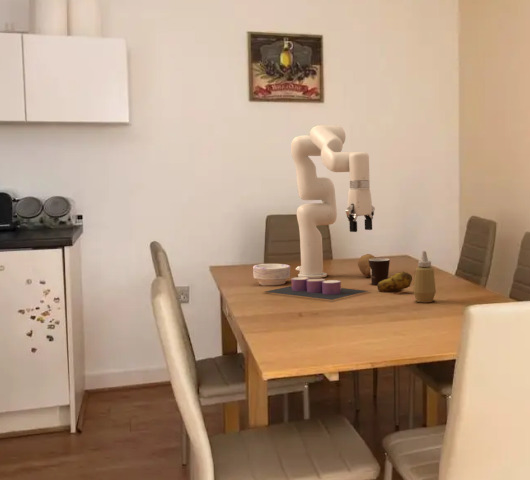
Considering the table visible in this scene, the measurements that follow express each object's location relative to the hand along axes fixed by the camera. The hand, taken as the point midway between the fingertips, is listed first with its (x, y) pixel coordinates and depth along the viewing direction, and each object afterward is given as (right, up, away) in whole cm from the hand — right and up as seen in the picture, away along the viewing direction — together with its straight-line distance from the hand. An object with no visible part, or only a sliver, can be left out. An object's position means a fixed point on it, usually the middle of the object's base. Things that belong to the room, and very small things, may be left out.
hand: (361, 230), depth 298 cm
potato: (+13, -24, -1) cm, 27 cm away
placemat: (-17, -24, +1) cm, 29 cm away
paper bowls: (-38, -19, +22) cm, 48 cm away
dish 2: (-11, -24, -4) cm, 27 cm away
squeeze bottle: (+24, -28, -20) cm, 42 cm away
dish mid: (-17, -23, +1) cm, 29 cm away
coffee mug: (+7, -19, +21) cm, 29 cm away
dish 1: (-24, -22, +5) cm, 33 cm away
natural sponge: (+2, -15, +39) cm, 42 cm away
